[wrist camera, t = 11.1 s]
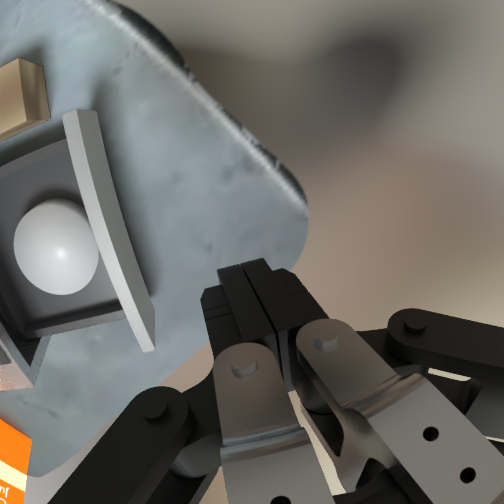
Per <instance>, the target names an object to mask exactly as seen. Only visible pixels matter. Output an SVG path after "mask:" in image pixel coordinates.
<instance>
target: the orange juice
mask: <svg viewBox="0 0 504 504" xmlns="http://www.w3.org/2000/svg"><path fill="white" fill-rule="evenodd" d="M31 443H32V440H31V439H30V438H28V437H26V436H25V435H23V434H22V433H20V432H18V431H17V430H15V429H14V428H12V427H11V426H9V425H8V424H6V423H5V422H4V421H2V420H1V419H0V504H24V493H25V487H26V477H27V468H28V461H29V454H30V448H31Z"/></svg>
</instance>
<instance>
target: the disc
mask: <svg viewBox="0 0 504 504" xmlns="http://www.w3.org/2000/svg"><path fill="white" fill-rule="evenodd" d="M14 253H15V257H16V260H17V263H18V265H19V267H20V269H21V271H22V272H23V274H24V275H25V276H26V278H27V279H28V280H29V281H30V282H31V283H32V284H34V285H35V286H36V287H38V288H39V289H41V290H43V291H45V292H48V293H51V294H56V295H67V294H72V293H75V292H77V291H79V290H81V289H82V288H84V287H85V286H86V285H87V284H88V283H89V282H90V280H91V279H92V277H93V275H94V273H95V270H96V268H97V265H98V262H99V260H100V257H101V253H100V250H99V248H98V245H97V242H96V239H95V236H94V234H93V231H92V228H91V225H90V222H89V219H88V215H87V212H86V209H84V208H83V207H82V206H81V205H79V204H77V203H75V202H73V201H71V200H68V199H63V198H53V199H48V200H45V201H43V202H41V203H39V204H38V205H36V206H35V207H34V208H33V209H32V210H30V211H29V212H28V213H27V214H26V215H25V216H24V217H23V218H22V219H21V221H20V222H19V224H18V226H17V228H16V231H15V236H14Z"/></svg>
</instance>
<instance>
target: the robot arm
mask: <svg viewBox="0 0 504 504" xmlns="http://www.w3.org/2000/svg"><path fill="white" fill-rule="evenodd" d="M217 273H218V278H219V282H220V285H218V286H214V287H210V288H206V289H205V290H204V292H203V294H202V297H201V299H200V301H201V305H202V310H203V314H204V318H205V323H206V327H207V331H208V335H209V340H210V344H211V348H212V352H213V356H214V363H213V367H212V370H211V371H210V373H209V374H208V376H207V377H206V378H205V379H204V380H203V381H201V382H200V383H199V384H197V385H196V386H194V387H192V388H190V389H188V390H186V391H184V392H183V393H181V392H179V391H178V390H176V389H174V388H171V387H165V386H158V387H153V388H149V389H147V390H145V391H143V392H141V393H139V394H138V395H137V396H136V397H135V398H134V399H133V400H132V401H131V402H130V403H129V404H128V406H127V407H126V408H125V409H124V411H123V412H122V413H121V414H120V415H119V417H118V418H117V419H116V420H115V422H114V423H113V424H112V425H111V426H110V428H109V429H108V430H107V431H106V433H105V434H104V435H103V436H102V437H101V439H100V440H99V441H98V442H97V444H96V445H95V446H94V447H93V449H92V450H91V451H90V452H89V453H88V455H87V456H86V457H85V458H84V460H83V461H82V462H81V463H80V464H79V466H78V467H77V468H76V470H75V471H74V472H73V473H72V474H71V475H70V477H69V478H68V479H67V480H66V482H65V483H64V484H63V485H62V487H61V488H60V489H59V490H58V491H57V493H56V494H55V495H54V496H53V497H52V499H51V500H50V501H49V502H48V504H199V502H200V501H201V499H202V497H203V496H204V494H205V492H206V490H207V489H208V487H209V485H210V484H211V482H212V480H213V479H214V477H215V475H216V474H217V471H218V468H219V467H220V466H222V469H223V475H224V481H225V486H226V492H227V497H228V503H229V504H504V442H499V441H494V440H490V439H487V438H486V437H485V436H488V437H493V438H499V439H504V328H503V327H497V326H493V325H489V324H484V323H479V322H475V321H470V320H466V319H461V318H457V317H452V316H448V315H443V314H439V313H435V312H430V311H426V310H421V309H415V308H410V309H403V310H400V311H398V312H396V313H395V314H393V315H392V316H391V318H390V319H389V321H388V326H387V328H384V329H378V330H369V331H354V330H353V328H352V327H350V326H349V325H348V324H346V323H345V322H343V321H340V320H336V319H330V318H329V317H328V316H327V314H326V313H325V312H324V311H323V309H322V308H321V307H320V306H319V304H318V303H317V302H316V300H315V299H314V298H313V296H312V295H311V294H310V293H309V292H308V290H307V289H306V288H305V286H304V285H302V283H301V282H300V280H299V279H298V278H297V276H296V275H295V274H293V273H292V272H289V271H287V270H285V269H283V268H281V269H277V270H274V271H272V270H271V268H270V267H269V265H268V264H267V263H266V261H265V260H264V258H259V259H256V260H252V261H248V262H244V263H241V264H237V265H233V266H229V267H225V268H221V269H217ZM429 368H433V369H437V370H441V371H445V372H449V373H453V374H458V375H462V376H467V377H471V379H469V380H467V381H458V380H454V379H450V378H446V377H442V376H438V375H434V374H430V373H428V370H429ZM293 390H296V392H297V394H298V396H299V398H300V407H301V411H302V413H303V415H304V417H305V418H306V420H307V422H308V423H309V425H310V426H311V428H312V430H313V431H314V433H315V434H316V436H317V438H318V439H319V441H320V442H321V444H322V446H323V447H324V449H325V450H326V452H327V453H328V455H329V457H330V458H331V459H332V461H333V463H334V466H335V468H336V472H337V476H338V478H339V480H340V482H341V484H342V486H343V488H344V489H345V491H346V493H345V494H340V495H334V496H332V494H331V492H330V489H329V486H328V484H327V481H326V479H325V476H324V474H323V471H322V468H321V466H320V464H319V461H318V458H317V456H316V453H315V450H314V448H313V445H312V443H311V441H310V438H309V435H308V433H307V431H306V430H305V428H304V427H301V426H300V424H299V422H298V419H297V417H296V414H295V411H294V409H293V406H292V403H291V400H290V398H289V395H288V392H290V391H293Z"/></svg>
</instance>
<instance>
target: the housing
mask: <svg viewBox="0 0 504 504" xmlns="http://www.w3.org/2000/svg"><path fill="white" fill-rule="evenodd" d="M51 336H52V335H49V336H44V337H39V338H34V339H29V340H24V341H20V340H19V338H18V337H17V335H16V333H15V332H14V330H13V328H12V327H11V325H10V323H9V322H8V320H7V318H6V316H5V315H4V313H3V311H2V309H1V308H0V390H11V389H21V388H31V387H35V383H36V380H37V377H38V374H39V371H40V367H41V364H42V361H43V358H44V355H45V352H46V350H47V347H48V344H49V341H50V339H51Z"/></svg>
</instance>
